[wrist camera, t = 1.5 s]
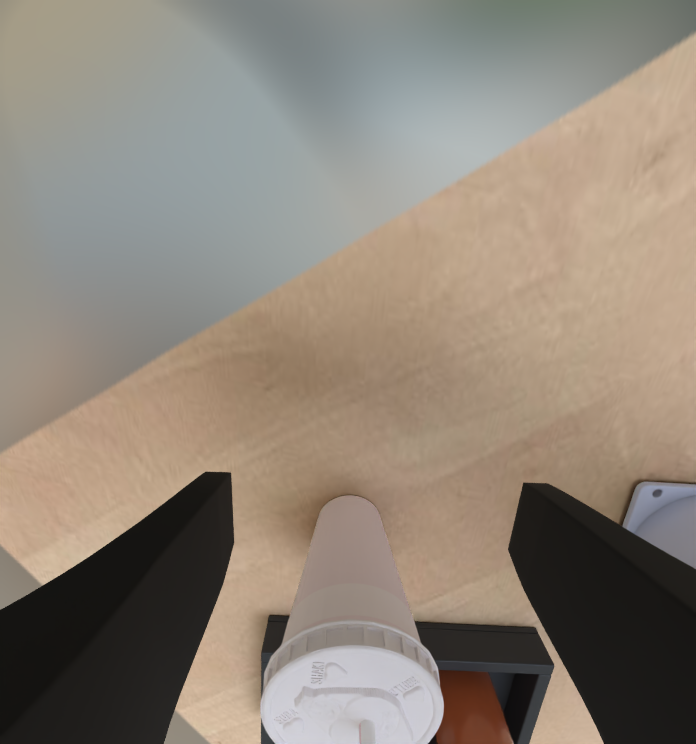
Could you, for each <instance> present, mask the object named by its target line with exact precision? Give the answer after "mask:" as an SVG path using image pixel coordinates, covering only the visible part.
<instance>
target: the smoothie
mask: <svg viewBox="0 0 696 744" xmlns="http://www.w3.org/2000/svg"><path fill="white" fill-rule="evenodd" d="M260 711H261V719H262V722H263V726H264V728H265V730H266V732H267V733H268V735H269V737H270V738H271V739H272V740H273V742H274V743H275V744H428V743H429V742H430V740H431V739H432V738H433V736H434V735H435V734H436V732H437V730H438V729H439V726H440V724H441V721H442V718H443V713H444V702H443V696H442V692H441V688H440V680H439V672H438V667H437V665H436V663H435V661H434V659H433V657H432V655H431V654H430V652H429V650H427V649H426V648H425V647H424V646H423V645H422V644H421V641H420V638H419V635H418V632H417V628H416V625H415V622H414V619H413V616H412V613H411V610H410V607H409V604H408V601H407V598H406V595H405V592H404V589H403V585H402V582H401V579H400V576H399V573H398V570H397V567H396V564H395V561H394V558H393V554H392V551H391V548H390V545H389V542H388V539H387V536H386V533H385V530H384V527H383V523H382V520H381V517H380V514H379V512H378V510H377V508H376V507H375V506H374V505H373V504H372V503H371V502H370V501H368V500H366V499H364V498H362V497H359V496H353V495H346V496H340V497H337V498H335V499H333V500H331V501H329V502H328V503H327V504H326V505H325V506H324V507H323V508H322V509H321V511H320V513H319V516H318V520H317V523H316V527H315V530H314V534H313V537H312V541H311V544H310V548H309V551H308V555H307V558H306V562H305V565H304V569H303V572H302V575H301V579H300V582H299V586H298V589H297V593H296V596H295V600H294V603H293V607H292V610H291V614H290V617H289V620H288V623H287V627H286V630H285V634H284V638H283V642H282V645H281V646H280V647H279V648H278V649H277V650H276V652H275V653H274V654H273V655H272V656H271V658H270V660H269V663H268V665H267V667H266V670H265V672H264V686H263V695H262V699H261V706H260Z"/></svg>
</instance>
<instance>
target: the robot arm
mask: <svg viewBox="0 0 696 744" xmlns="http://www.w3.org/2000/svg"><path fill="white" fill-rule="evenodd" d="M655 490H656V491H655ZM654 491H655V492H654ZM233 545H234V527H233V505H232V482H231V473H228V472H205V473H203V474H202V475H200V476H199V477H198V478H196V479H195V480H194V481H192V482H191V483H190V484H188V485H187V486H186V487H185V488H183V489H182V490H181V491H179V492H178V493H177V494H176V495H174V496H173V497H172V498H170V499H169V500H168V501H167V502H165V503H164V504H163V505H161V506H160V507H159V508H157V509H156V510H155V511H153V512H152V513H151V514H149V515H148V516H147V517H145V518H144V519H143V520H141V521H140V522H139V523H137V524H136V525H135V526H133V527H132V528H130V529H129V530H127V531H126V532H124V533H123V534H122V535H120V536H119V537H117V538H116V539H114V540H113V541H111V542H110V543H109V544H107V545H106V546H104V547H103V548H101V549H100V550H98V551H97V552H96V553H94V554H93V555H91V556H90V557H88V558H87V559H85V560H84V561H82V562H80V563H79V564H77V565H76V566H74V567H73V568H71V569H69V570H68V571H66V572H65V573H63V574H61V575H60V576H58V577H57V578H55V579H53V580H51V581H50V582H48V583H46V584H45V585H43V586H41V587H40V588H38V589H36V590H35V591H33V592H31V593H30V594H28V595H26V596H25V597H23V598H21V599H19V600H17V601H16V602H14V603H12V604H10V605H9V606H7V607H5V608H3V609H1V610H0V744H164V741H165V738H166V734H167V731H168V728H169V724H170V721H171V718H172V715H173V713H174V710H175V707H176V704H177V702H178V699H179V696H180V693H181V691H182V688H183V686H184V683H185V680H186V678H187V675H188V673H189V670H190V668H191V665H192V663H193V660H194V658H195V655H196V652H197V650H198V647H199V645H200V642H201V640H202V637H203V635H204V632H205V630H206V627H207V624H208V622H209V619H210V617H211V614H212V612H213V609H214V606H215V604H216V601H217V599H218V596H219V593H220V591H221V588H222V585H223V582H224V579H225V575H226V571H227V568H228V564H229V560H230V556H231V552H232V548H233ZM508 551H509V553H510V556H511V559H512V561H513V564H514V567H515V569H516V572H517V574H518V577H519V579H520V582H521V584H522V586H523V589H524V591H525V593H526V595H527V597H528V599H529V601H530V603H531V605H532V607H533V608H534V610H535V612H536V614H537V616H538V618H539V620H540V622H541V623H542V625H543V627H544V629H545V631H546V633H547V635H548V636H549V638H550V640H551V642H552V644H553V646H554V647H555V649H556V651H557V653H558V655H559V657H560V658H561V660H562V662H563V664H564V666H565V668H566V669H567V671H568V673H569V675H570V677H571V679H572V680H573V682H574V684H575V686H576V688H577V690H578V691H579V693H580V695H581V697H582V699H583V701H584V703H585V705H586V707H587V709H588V711H589V713H590V715H591V717H592V719H593V721H594V723H595V725H596V727H597V729H598V731H599V733H600V736H601V738H602V740H603V742H604V744H696V484H679V483H662V482H642V483H639V484H638V485H637V486H636V488H635V491H634V494H633V497H632V500H631V502H630V505H629V508H628V511H627V514H626V517H625V520H624V523H623V525H622V526H620V525H619V524H617V523H615V522H614V521H612V520H611V519H609V518H607V517H606V516H604V515H602V514H601V513H599V512H597V511H596V510H594V509H592V508H591V507H589V506H587V505H586V504H584V503H582V502H581V501H579V500H577V499H575V498H574V497H572V496H570V495H569V494H567V493H565V492H563V491H561V490H559V489H558V488H556V487H554V486H552V485H550V484H547V483H523V487H522V491H521V496H520V500H519V504H518V508H517V513H516V517H515V521H514V526H513V530H512V534H511V539H510V543H509V547H508Z"/></svg>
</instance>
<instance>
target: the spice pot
mask: <svg viewBox="0 0 696 744" xmlns="http://www.w3.org/2000/svg"><path fill="white" fill-rule="evenodd" d="M438 672H439V680H440V688H441V692H442V696H443V702H444V713H443V718H442V721H441V724H440V726H439V729H438V730H437V732H436V734H435V738H436V744H514V742H513V739H512V736H511V733H510V730H509V727H508V724H507V722H506V719H505V716H504V713H503V710H502V707H501V704H500V701H499V699H498V696H497V693H496V690H495V687H494V684H493V681H492V678H491V675H490V673H489V672H477V671H454V670H438Z"/></svg>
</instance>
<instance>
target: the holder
mask: <svg viewBox="0 0 696 744" xmlns="http://www.w3.org/2000/svg"><path fill="white" fill-rule="evenodd" d="M289 617H290V616H271V615H270V616H269V618H268V623H267V628H266V633H265V638H264V642H263V647H262V652H261V661H262V662H261V699H262V695H263V686H264V672H265V670H266V667H267V665H268V663H269V660H270V658H271V656H272V655H273V654H274V653H275V652H276V650H277V649H278V648H279V647H280V646H281V645H282V642H283V638H284V634H285V630H286V627H287V623H288V620H289ZM415 625H416V628H417V632H418V635H419V638H420V641H421V644H422V645H423V646H424V647H425V648H426V649H427V650H429V652H430V654H431V655H432V657H433V659H434V661H435V663H436V665H437V667H438V670H454V671H477V672H489V673H490V675H491V678H492V681H493V684H494V687H495V690H496V693H497V696H498V699H499V701H500V704H501V707H502V710H503V713H504V716H505V719H506V722H507V724H508V727H509V730H510V733H511V736H512V739H513V742H514V744H529V742H530V739H531V736H532V733H533V730H534V727H535V724H536V721H537V718H538V715H539V712H540V708H541V705H542V702H543V699H544V696H545V693H546V690H547V687H548V684H549V681H550V678H551V674H552V672H553V669H554V664H553V662H552V660H551V658H550V656H549V654H548V652H547V650H546V648H545V646H544V644H543V642H542V640H541V638H540V636H539V634H538V632H537V630H536V628H528V627H506V626H485V625H463V624H442V623H421V622H415ZM261 744H275V743H274V742H273V740H272V739H271V738H270V737H269V735H268V733H267V732H266V730H265V728H264V726H263V722H262V719H261ZM428 744H436V738H435V735H434V736H433V738H432V739H431V740H430V742H429V743H428Z"/></svg>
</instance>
